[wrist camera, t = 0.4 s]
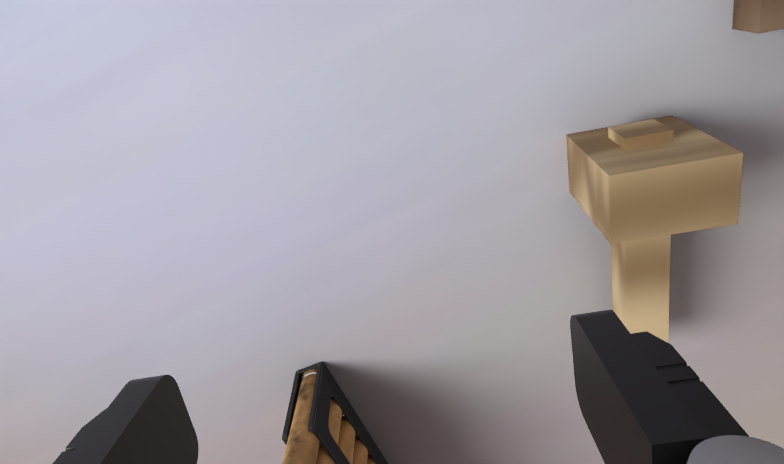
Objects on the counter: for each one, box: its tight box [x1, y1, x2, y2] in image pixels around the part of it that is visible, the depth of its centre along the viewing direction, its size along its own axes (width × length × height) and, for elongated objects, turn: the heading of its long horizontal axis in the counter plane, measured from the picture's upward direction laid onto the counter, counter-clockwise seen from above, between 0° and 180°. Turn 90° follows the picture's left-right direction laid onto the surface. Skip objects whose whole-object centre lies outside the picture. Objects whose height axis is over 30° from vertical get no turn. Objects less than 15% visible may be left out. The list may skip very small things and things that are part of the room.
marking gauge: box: [566, 116, 744, 343], centre depth 26 cm, size 12×5×6 cm, turn 11°
